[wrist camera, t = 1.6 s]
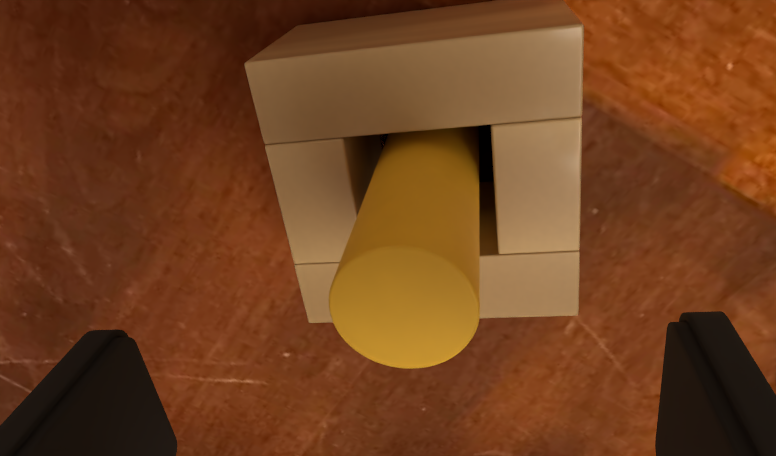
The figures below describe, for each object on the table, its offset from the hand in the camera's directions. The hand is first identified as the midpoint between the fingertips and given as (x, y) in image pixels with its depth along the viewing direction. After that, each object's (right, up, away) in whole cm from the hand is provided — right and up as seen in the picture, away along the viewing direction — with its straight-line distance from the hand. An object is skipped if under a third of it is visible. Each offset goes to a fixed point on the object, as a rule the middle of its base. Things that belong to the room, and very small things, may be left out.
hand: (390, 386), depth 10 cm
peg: (+2, +6, +10) cm, 12 cm away
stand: (+2, +6, +10) cm, 12 cm away
